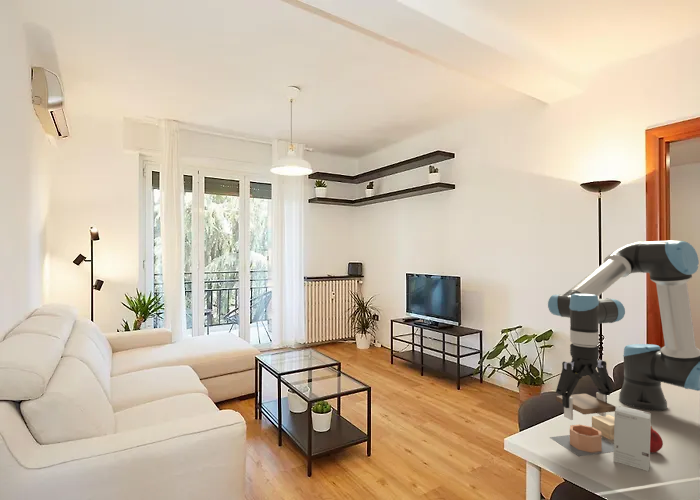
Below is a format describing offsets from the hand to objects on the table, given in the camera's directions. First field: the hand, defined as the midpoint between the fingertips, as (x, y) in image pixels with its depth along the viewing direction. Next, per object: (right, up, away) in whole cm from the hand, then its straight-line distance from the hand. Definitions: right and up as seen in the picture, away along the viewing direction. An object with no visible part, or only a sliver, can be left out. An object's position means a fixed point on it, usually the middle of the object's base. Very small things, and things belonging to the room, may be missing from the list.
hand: (584, 416), depth 118 cm
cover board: (0, +3, 0) cm, 3 cm away
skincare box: (+8, -10, -10) cm, 15 cm away
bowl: (0, -9, 0) cm, 9 cm away
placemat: (+1, -9, +1) cm, 10 cm away
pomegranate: (+17, -10, -4) cm, 20 cm away
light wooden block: (+13, -10, +8) cm, 18 cm away
